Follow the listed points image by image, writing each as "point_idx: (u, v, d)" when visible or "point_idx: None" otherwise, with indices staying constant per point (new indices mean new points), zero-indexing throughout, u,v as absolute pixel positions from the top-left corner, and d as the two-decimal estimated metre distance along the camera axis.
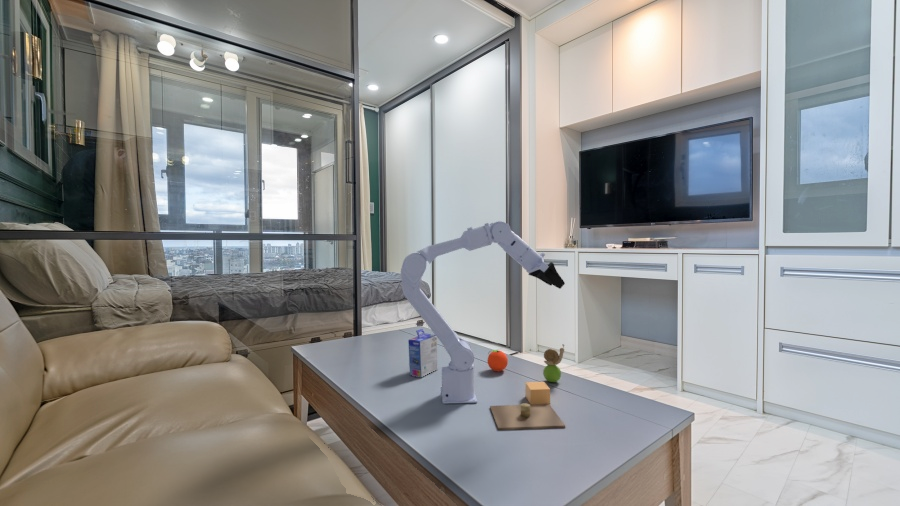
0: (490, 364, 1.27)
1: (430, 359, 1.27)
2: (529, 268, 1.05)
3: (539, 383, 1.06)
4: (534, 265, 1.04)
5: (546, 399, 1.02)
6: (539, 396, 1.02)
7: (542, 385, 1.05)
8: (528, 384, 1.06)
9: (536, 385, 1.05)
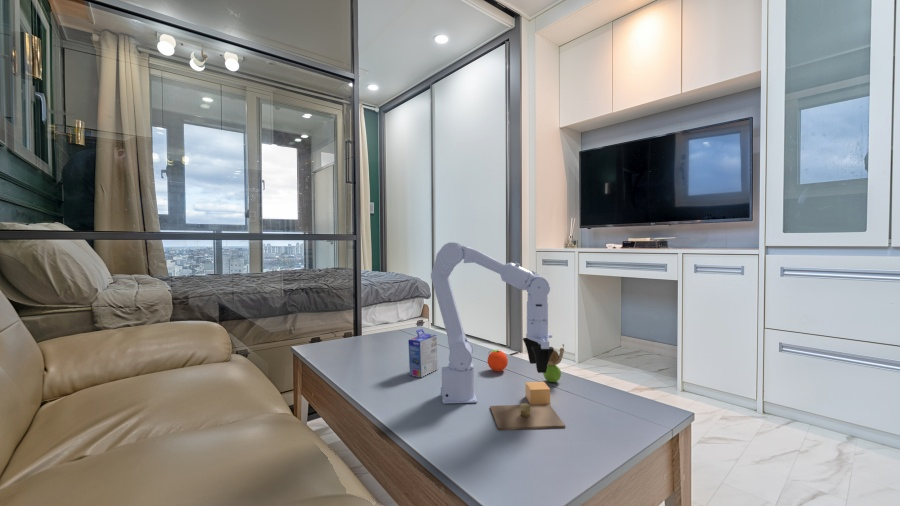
0: (490, 364, 1.27)
1: (430, 359, 1.27)
2: (531, 335, 1.03)
3: (539, 383, 1.06)
4: (537, 336, 1.02)
5: (546, 399, 1.02)
6: (539, 396, 1.02)
7: (542, 385, 1.05)
8: (528, 384, 1.06)
9: (536, 385, 1.05)
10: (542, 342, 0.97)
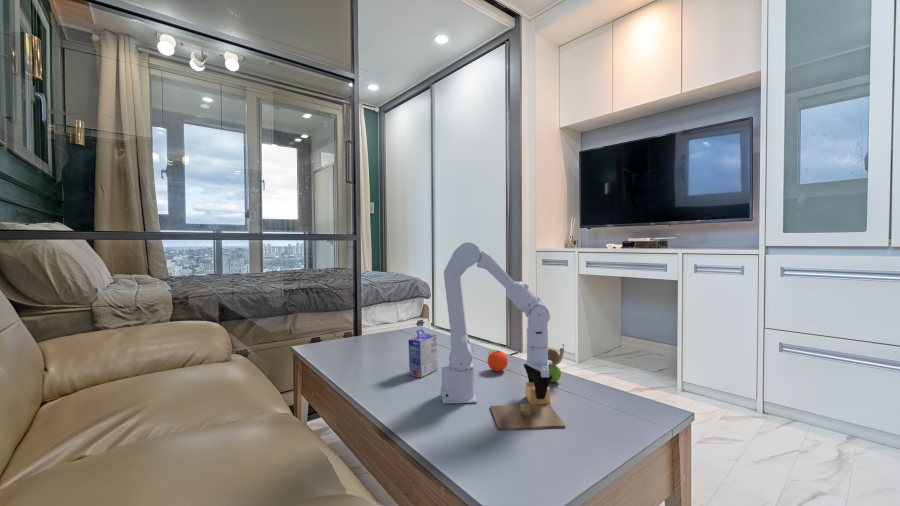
0: (490, 364, 1.27)
1: (430, 359, 1.27)
2: (531, 362, 1.03)
3: None
4: (537, 364, 1.02)
5: (546, 399, 1.02)
6: None
7: None
8: (528, 384, 1.06)
9: None
10: (542, 371, 0.98)
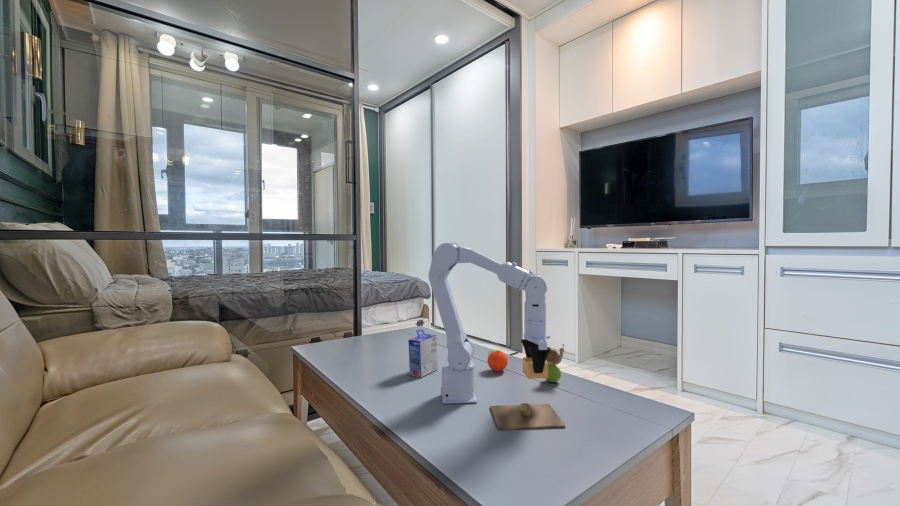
0: (490, 364, 1.27)
1: (430, 359, 1.27)
2: (529, 335, 1.01)
3: None
4: (535, 337, 1.00)
5: (544, 373, 1.00)
6: None
7: None
8: (525, 359, 1.04)
9: None
10: (540, 343, 0.95)
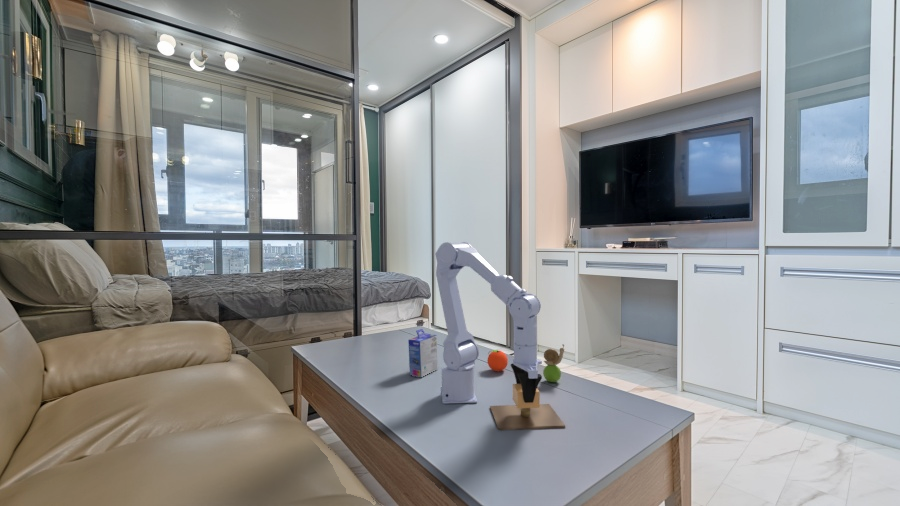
0: (490, 364, 1.27)
1: (430, 359, 1.27)
2: (518, 361, 0.92)
3: None
4: (525, 363, 0.92)
5: (535, 402, 0.92)
6: None
7: None
8: (515, 386, 0.96)
9: None
10: (530, 371, 0.87)
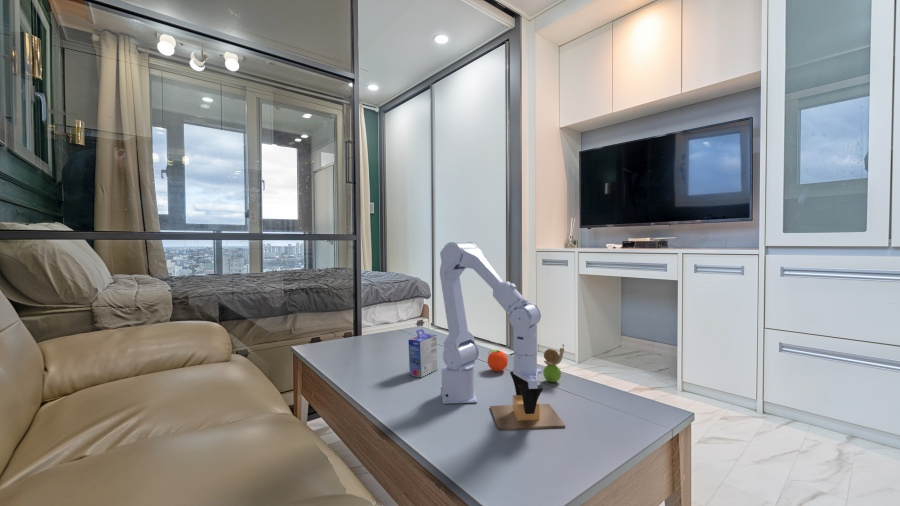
0: (490, 364, 1.27)
1: (430, 359, 1.27)
2: (518, 371, 0.93)
3: None
4: (525, 373, 0.92)
5: (535, 414, 0.92)
6: None
7: None
8: (515, 397, 0.96)
9: None
10: (530, 381, 0.87)
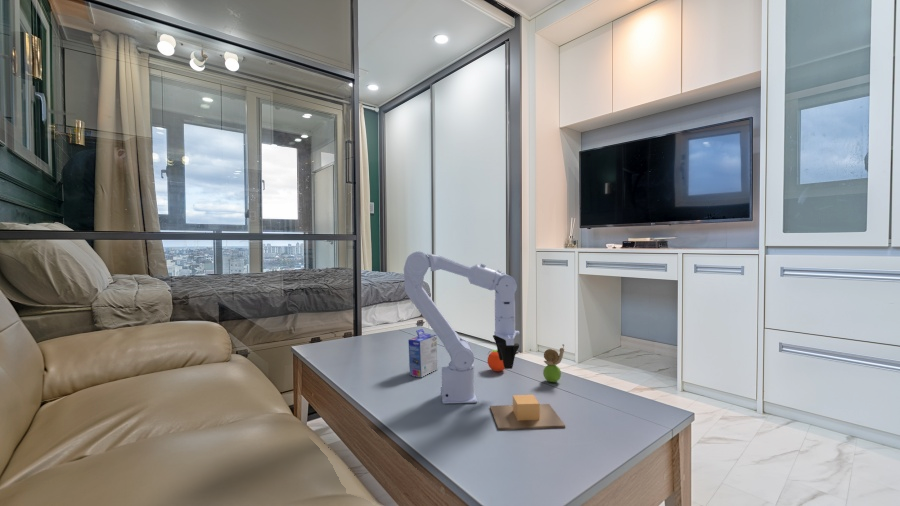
0: (490, 364, 1.27)
1: (430, 359, 1.27)
2: (498, 332, 1.05)
3: (528, 396, 0.96)
4: (504, 333, 1.04)
5: (535, 414, 0.92)
6: (527, 411, 0.92)
7: (531, 399, 0.95)
8: (515, 397, 0.96)
9: (524, 399, 0.95)
10: (507, 339, 1.00)
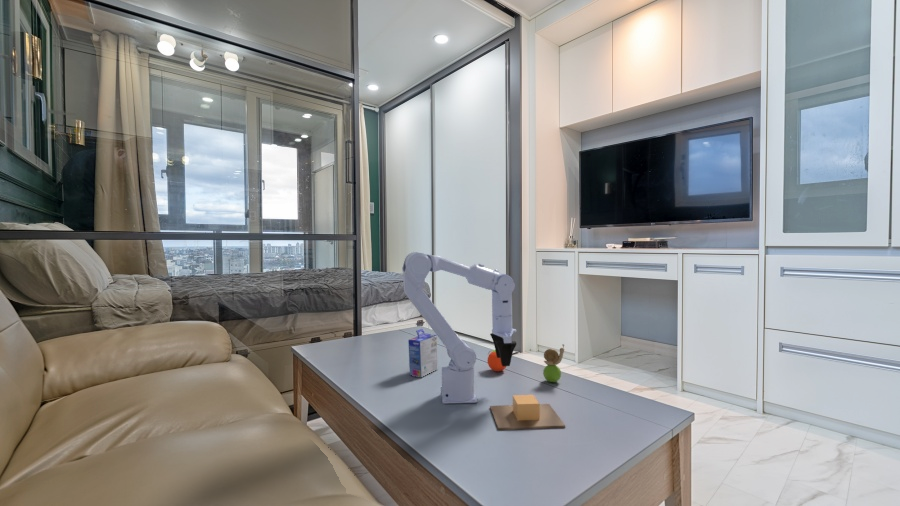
0: (490, 364, 1.27)
1: (430, 359, 1.27)
2: (496, 330, 1.07)
3: (528, 396, 0.96)
4: (501, 331, 1.06)
5: (535, 414, 0.92)
6: (527, 411, 0.92)
7: (531, 399, 0.95)
8: (515, 397, 0.96)
9: (524, 399, 0.95)
10: (504, 337, 1.02)
